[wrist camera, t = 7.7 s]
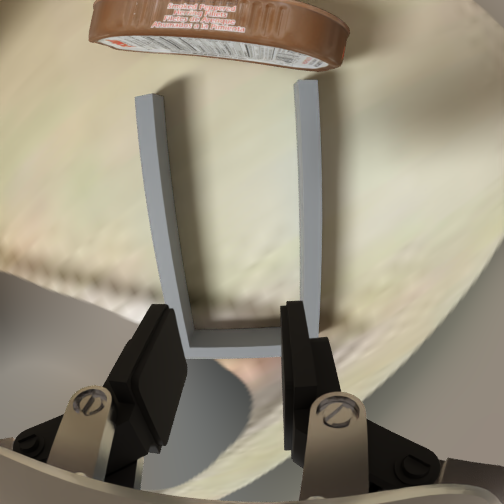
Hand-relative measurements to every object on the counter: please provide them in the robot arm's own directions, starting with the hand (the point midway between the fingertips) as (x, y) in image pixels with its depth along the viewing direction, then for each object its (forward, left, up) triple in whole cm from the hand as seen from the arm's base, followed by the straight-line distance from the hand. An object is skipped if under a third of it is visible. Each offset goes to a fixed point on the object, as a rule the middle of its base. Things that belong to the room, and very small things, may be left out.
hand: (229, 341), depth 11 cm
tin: (-1, +13, -14) cm, 19 cm away
